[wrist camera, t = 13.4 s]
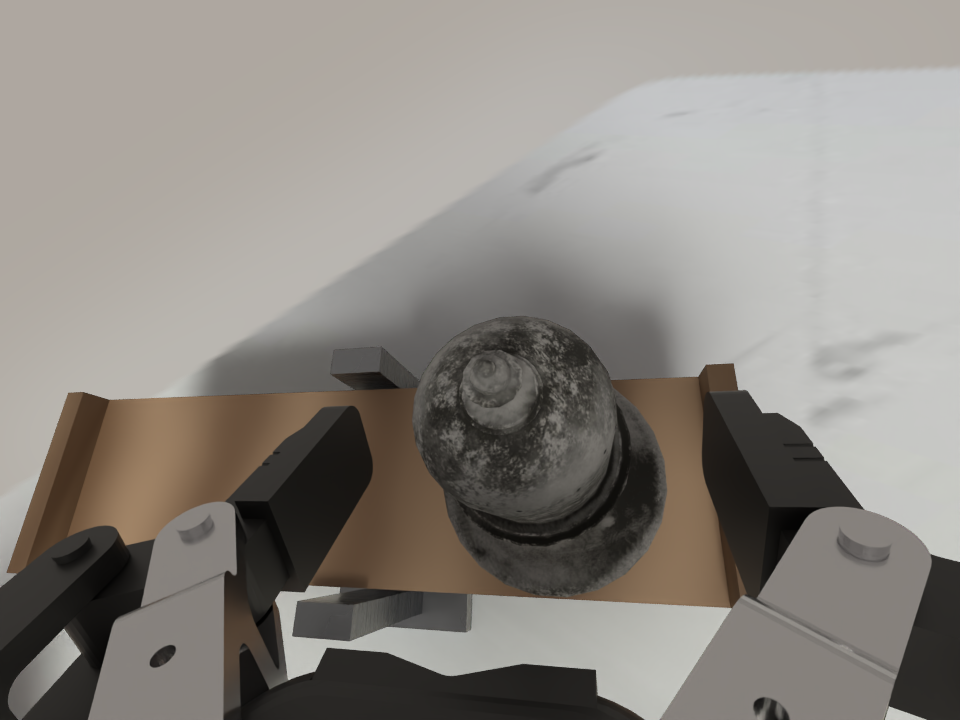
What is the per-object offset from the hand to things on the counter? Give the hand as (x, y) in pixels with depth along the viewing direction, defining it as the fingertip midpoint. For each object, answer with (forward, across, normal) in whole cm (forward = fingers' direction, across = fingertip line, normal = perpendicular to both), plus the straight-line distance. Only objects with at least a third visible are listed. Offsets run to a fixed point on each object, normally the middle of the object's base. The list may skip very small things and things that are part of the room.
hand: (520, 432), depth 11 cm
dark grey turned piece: (+4, 0, +5) cm, 6 cm away
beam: (+5, +7, +5) cm, 10 cm away
